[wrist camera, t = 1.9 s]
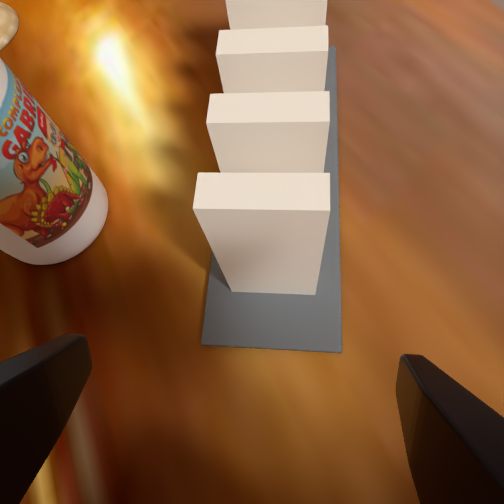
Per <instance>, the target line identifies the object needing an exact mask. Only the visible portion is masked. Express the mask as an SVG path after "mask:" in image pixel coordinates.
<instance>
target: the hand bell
mask: <svg viewBox="0 0 504 504" xmlns="http://www.w3.org/2000/svg"><path fill="white" fill-rule="evenodd" d="M18 26H19V19H18V15H17V13H16V12H15V11H14V10H13V9H12V8H11V7H9V6H8V5H6V4H5V3H3V2H0V51H1V50H2V49H3V48H4V47H5V46H7V45H8V44H9V42H10V41H11V40H12V39H13V37H14V36H15V34H16V32H17V30H18Z"/></svg>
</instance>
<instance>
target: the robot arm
mask: <svg viewBox="0 0 504 504" xmlns="http://www.w3.org/2000/svg"><path fill="white" fill-rule="evenodd" d="M91 369H92V361H91V356H90V351H89V346H88V341H87V338H86V337H85V336H84V335H82V334H65V335H62V336H60V337H58V338H55V339H53V340H51V341H49V342H46V343H44V344H42V345H39V346H37V347H35V348H32V349H30V350H28V351H26V352H23V353H21V354H19V355H16V356H14V357H12V358H9V359H7V360H5V361H3V362H0V504H19V503H20V502H21V500H22V499H23V497H24V495H25V494H26V492H27V490H28V489H29V487H30V485H31V484H32V482H33V480H34V479H35V477H36V475H37V474H38V472H39V470H40V469H41V467H42V465H43V464H44V462H45V460H46V459H47V457H48V455H49V454H50V452H51V450H52V449H53V447H54V445H55V444H56V442H57V440H58V438H59V437H60V435H61V433H62V431H63V429H64V427H65V426H66V424H67V422H68V420H69V417H70V415H71V413H72V411H73V409H74V407H75V405H76V403H77V401H78V399H79V396H80V394H81V392H82V390H83V388H84V386H85V384H86V382H87V380H88V377H89V375H90V373H91ZM396 397H397V403H398V408H399V414H400V420H401V425H402V431H403V436H404V442H405V447H406V453H407V458H408V463H409V467H410V471H411V474H412V478H413V481H414V485H415V488H416V491H417V495H418V498H419V501H420V504H504V418H503V417H502V416H501V415H500V414H498V413H497V412H496V411H494V410H493V409H492V408H490V407H489V406H488V405H487V404H485V403H484V402H483V401H481V400H480V399H479V398H477V397H476V396H475V395H473V394H472V393H471V392H470V391H468V390H467V389H466V388H464V387H463V386H462V385H460V384H459V383H458V382H456V381H455V380H454V379H453V378H451V377H450V376H449V375H447V374H446V373H445V372H443V371H442V370H441V369H439V368H438V367H437V366H436V365H434V364H433V363H432V362H430V361H429V360H428V359H426V358H425V357H424V356H422V355H415V354H403V355H402V356H401V357H400V361H399V368H398V375H397V381H396Z"/></svg>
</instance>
